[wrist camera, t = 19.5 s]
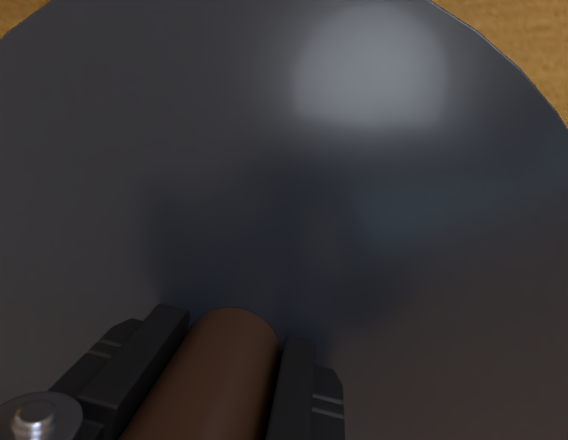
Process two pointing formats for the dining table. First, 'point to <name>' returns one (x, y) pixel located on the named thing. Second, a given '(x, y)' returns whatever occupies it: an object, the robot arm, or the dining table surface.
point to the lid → (287, 212)
